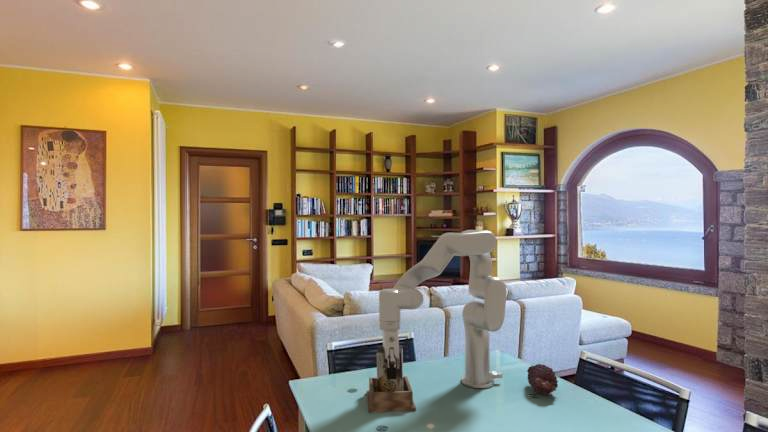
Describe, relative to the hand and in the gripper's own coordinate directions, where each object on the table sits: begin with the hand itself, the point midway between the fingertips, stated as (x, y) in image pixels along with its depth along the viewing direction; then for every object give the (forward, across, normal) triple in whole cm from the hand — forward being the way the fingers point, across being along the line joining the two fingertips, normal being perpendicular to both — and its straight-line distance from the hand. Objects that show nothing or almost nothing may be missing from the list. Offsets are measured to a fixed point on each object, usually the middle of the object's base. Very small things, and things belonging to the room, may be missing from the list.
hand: (390, 374), depth 149 cm
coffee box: (+7, 0, 0) cm, 7 cm away
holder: (+10, 0, 0) cm, 10 cm away
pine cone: (+10, +3, -57) cm, 58 cm away
